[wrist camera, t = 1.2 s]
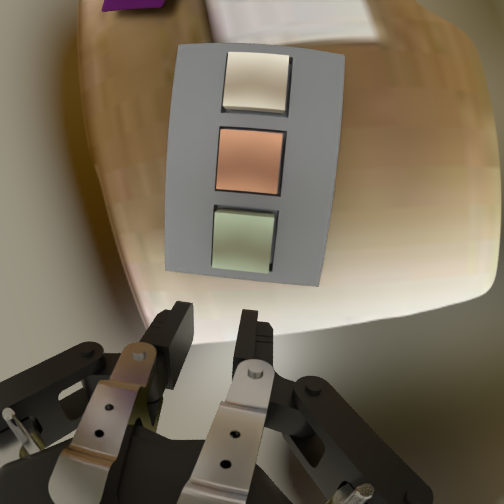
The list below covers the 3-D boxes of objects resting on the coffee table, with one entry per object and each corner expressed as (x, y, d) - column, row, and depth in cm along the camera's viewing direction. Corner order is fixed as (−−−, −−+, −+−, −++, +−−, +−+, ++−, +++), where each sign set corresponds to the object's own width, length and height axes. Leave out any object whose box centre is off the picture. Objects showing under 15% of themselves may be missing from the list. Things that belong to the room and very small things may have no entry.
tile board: (187, 54, 24) (178, 44, 21) (338, 64, 23) (344, 55, 20) (174, 260, 31) (165, 270, 28) (314, 274, 30) (318, 286, 28)
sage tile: (218, 208, 26) (214, 212, 24) (274, 213, 26) (274, 218, 24) (216, 259, 28) (212, 267, 26) (268, 265, 28) (268, 273, 26)
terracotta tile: (224, 131, 24) (220, 129, 22) (281, 135, 24) (282, 133, 22) (220, 186, 26) (216, 188, 24) (276, 191, 26) (276, 194, 24)
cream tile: (231, 58, 22) (228, 51, 20) (287, 62, 22) (289, 55, 20) (226, 109, 23) (222, 105, 22) (283, 113, 23) (284, 110, 21)
